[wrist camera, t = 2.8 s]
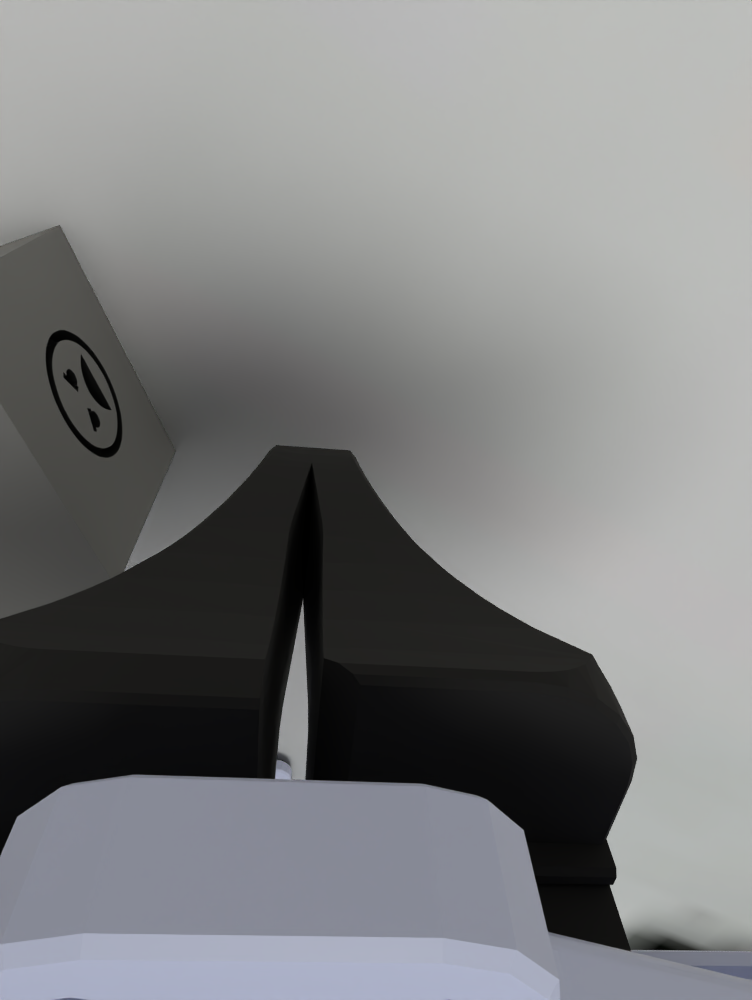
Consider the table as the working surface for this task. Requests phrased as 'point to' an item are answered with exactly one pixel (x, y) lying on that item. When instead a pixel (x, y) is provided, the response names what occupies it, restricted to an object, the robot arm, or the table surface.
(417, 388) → the table surface
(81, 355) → the dice cube
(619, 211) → the table surface
